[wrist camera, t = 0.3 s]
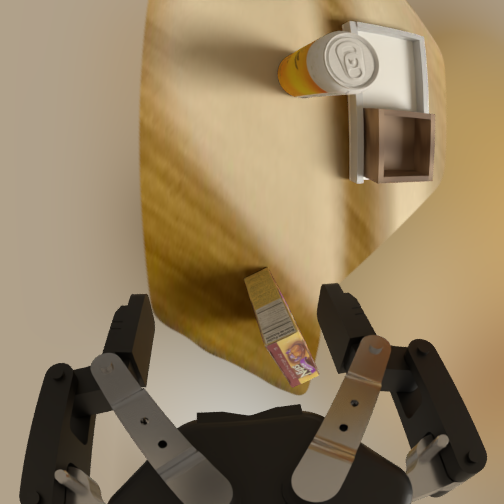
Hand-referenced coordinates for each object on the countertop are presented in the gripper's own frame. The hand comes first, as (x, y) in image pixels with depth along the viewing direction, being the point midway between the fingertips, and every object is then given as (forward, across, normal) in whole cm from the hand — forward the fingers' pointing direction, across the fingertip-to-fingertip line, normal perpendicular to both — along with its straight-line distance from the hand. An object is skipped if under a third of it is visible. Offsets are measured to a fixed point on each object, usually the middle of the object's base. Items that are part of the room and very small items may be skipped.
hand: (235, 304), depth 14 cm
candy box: (+26, -6, +20) cm, 34 cm away
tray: (+30, -23, -8) cm, 39 cm away
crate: (+28, -24, -3) cm, 37 cm away
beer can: (+29, -10, -11) cm, 33 cm away
